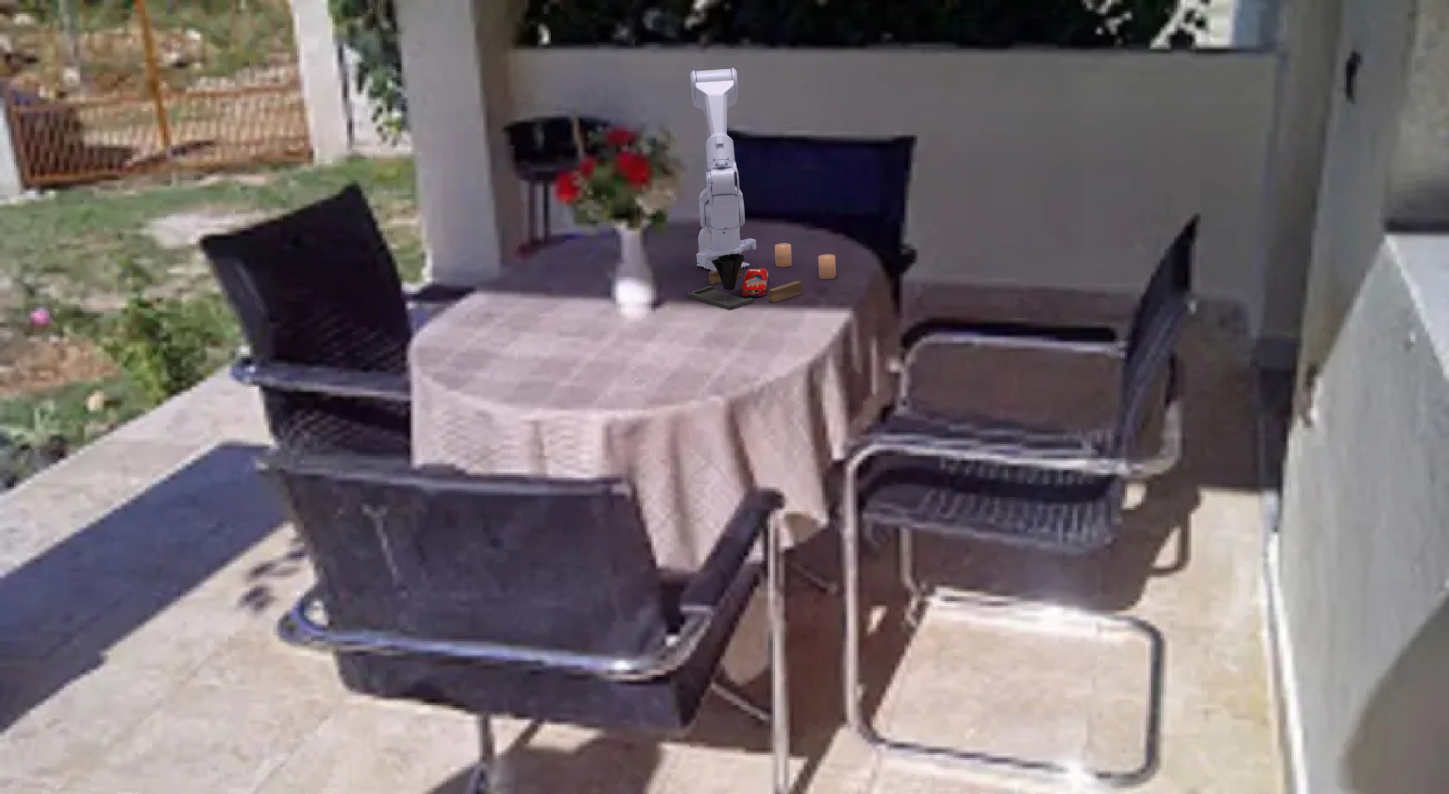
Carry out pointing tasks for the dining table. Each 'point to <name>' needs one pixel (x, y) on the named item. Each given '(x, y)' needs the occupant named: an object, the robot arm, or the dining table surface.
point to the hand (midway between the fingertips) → (729, 289)
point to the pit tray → (718, 298)
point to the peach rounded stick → (783, 255)
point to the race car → (755, 282)
